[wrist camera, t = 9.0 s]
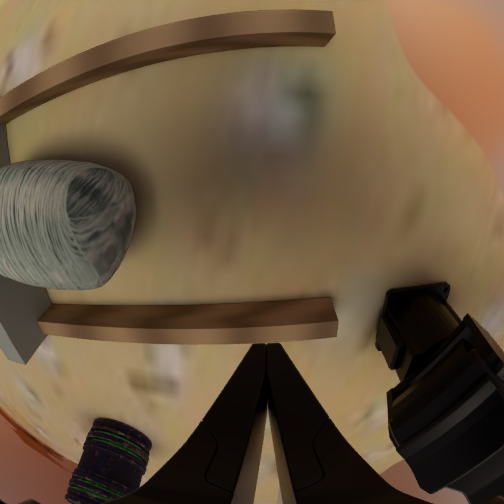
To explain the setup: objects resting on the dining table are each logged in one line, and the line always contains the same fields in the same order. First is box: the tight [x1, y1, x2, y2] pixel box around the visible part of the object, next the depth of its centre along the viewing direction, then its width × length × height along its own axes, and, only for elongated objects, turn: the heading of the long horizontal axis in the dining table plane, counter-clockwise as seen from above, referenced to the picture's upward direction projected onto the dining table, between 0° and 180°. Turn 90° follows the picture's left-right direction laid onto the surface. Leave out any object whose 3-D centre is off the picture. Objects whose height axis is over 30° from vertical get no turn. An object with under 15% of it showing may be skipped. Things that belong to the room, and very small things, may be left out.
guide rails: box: [0, 10, 338, 344], centre depth 17 cm, size 26×21×3 cm
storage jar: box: [65, 418, 152, 504], centre depth 27 cm, size 10×10×15 cm
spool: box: [0, 160, 136, 290], centre depth 16 cm, size 14×10×10 cm
